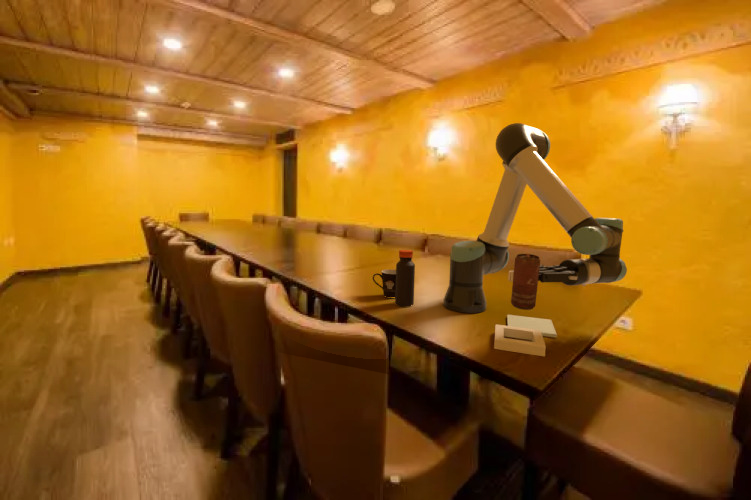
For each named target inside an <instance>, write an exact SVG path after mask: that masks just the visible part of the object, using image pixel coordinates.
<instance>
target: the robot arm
mask: <svg viewBox="0 0 751 500" xmlns="http://www.w3.org/2000/svg"><path fill="white" fill-rule="evenodd" d="M495 150H496V153H497V154H498V157H500V159H501V161H502V163H501V165H502V166H503V169H504V171H503V173H502V178H501V180H500V183H499V186H498V189H497V192H496V195H495V197H494V201H493V204H492V207H491V210H490V212H489V216H488V219H487V221H486V225H485V228H484V229H483V232H482V233H480V234H478V235H477V239H476V240H475V241H474V240H466V241H464V240H462V241H458V242H455V243H453V245H452V246H451V249H450V254H449V256H450V257H449V258H450V259H449V260H450V262H449V281H448V287H447V290H446V292H445V294H444V298H443V307H444V308H446V309H448V310H450V311H453V312H458V313H466V314H467V313H468V314H469V313H470V314H475V313H482V312H485V311H486V310H487V299H486V296H485V292H484V291H485V290H484V289H483V284H484V282H483V281H484V276H485V275H489V274H495V273H497V272H499V271H502V270H503V269H504V268H505V267H506V266H507V264H508V263H509V259H510V253H509V246H510V243H509V241H508V237H509V235H510V231H511V228H512V226H513V223H514V220H515V217H516V215H517V212H518V209H519V206H520V204H521V201H522V198H523V196H524V192H525V190H526V187H527V186H528V188H530V189H531V190H532V192H533V193H534V194H535V195H536V196H537V198H538V199H539V201H540V202H541V204H543V206H544V207H545V208H546V209H547V211H549V213H550V214H551V215H552V217H553V218H554V219H555V221H557V222H558V224H559V225H560V226H561V228H562V229H563V230H564V231H565V232H566V233H567V235H568V236H569V237H570V238H571V239H570V241H571V247H572V248H573V250H574V251H576V252H577V253H579V254H581V255H585V256H589V258H587V257H586V258H576V259H575V258H574V259H573V258H571V259H564V260H562V261H561V262H560V263H559V264H555V265H549V266H548V265H547V266H546V265H545V264H540V268H539V277H538V282H540V283H563V284H564V285H566V286H570V287H571V286H579V285H582V287H585V286H587V285H592V284H611V283H614V282H619V281H622V280H623V279H624V278H625V276H626V275H627V272H628V268H627V266H626V263H625V261H623V259H621V258H620V257H621V256H620V255H621V253H620V252H621V247H622V239H623V233H624V220H622V219H621V218H617V217H616V218H614V217H596V218H595V217H593V215H592V214H591V213H590V212H589V210H588V209H587V208H586V207H585V206H584V204H582V203H581V201H580V200H579V199H578V198H577V197H576V196H575V194H574V193H573V192H572V191H571V190H570V189H569V188H568V186H567V185H566V184H565V183H564V182H563V180H561V178H559V177H560V176H558V175H557V174H556V173H555V171H554V170H553V169H552V168H551V167H550V166H549V164H548V163H547V162H546V161H545V160H546V158H547V157H548V156H549V153H550V151H551V140H550V138H549V136H548V135H547V134H546V133H545V132H544V131H542V130H541V129H540V128H536V127H533V126H530V125H528V124H524V123H521V122H514V123H511V124H507V125H506V126H505V127H503V128H502V129H500V131H499V133H498V134H497V136H496V139H495ZM513 277H514V269H513V270H508V275H507V281H509V282H511V283H513Z"/></svg>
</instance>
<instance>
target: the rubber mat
mask: <svg viewBox="0 0 751 500" xmlns="http://www.w3.org/2000/svg"><path fill="white" fill-rule="evenodd" d="M506 320H507V325H506V326H513V327H520V328H528V329H535V330H541V333H542V336H543V337H549V338H556V339H557V337H558V334H557V332H556V328H555V326H554V324H553V321H552V319H547V318H539V317H532V316H531V317H530V316H523V315H522V316H521V315H516V314H515V315H513V314H507V315H506Z"/></svg>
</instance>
